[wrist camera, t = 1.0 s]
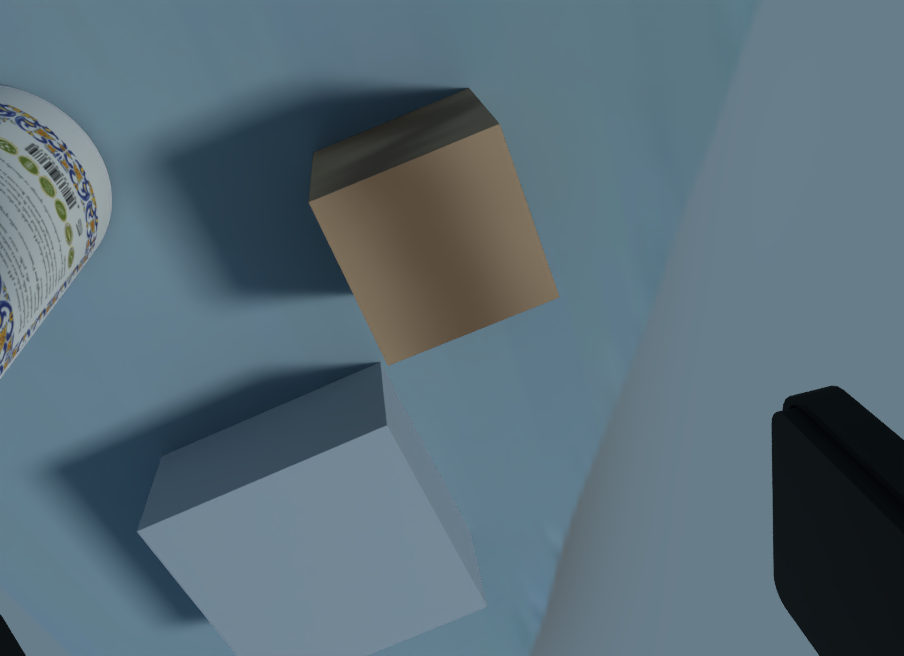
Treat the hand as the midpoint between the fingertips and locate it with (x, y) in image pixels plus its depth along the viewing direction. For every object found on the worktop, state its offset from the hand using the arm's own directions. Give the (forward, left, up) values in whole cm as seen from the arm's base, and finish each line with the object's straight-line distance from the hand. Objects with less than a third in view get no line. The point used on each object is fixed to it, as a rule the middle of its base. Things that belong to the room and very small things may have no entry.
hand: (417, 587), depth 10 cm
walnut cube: (-1, +2, -22) cm, 22 cm away
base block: (+8, +13, -22) cm, 27 cm away
